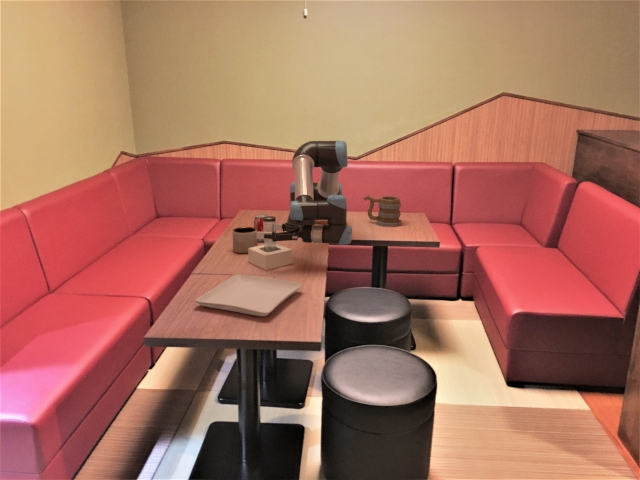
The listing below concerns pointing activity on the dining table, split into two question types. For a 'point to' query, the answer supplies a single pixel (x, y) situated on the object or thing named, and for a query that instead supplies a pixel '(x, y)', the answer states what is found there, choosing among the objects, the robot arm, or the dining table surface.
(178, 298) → the dining table surface
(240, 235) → the planter
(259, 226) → the soda can
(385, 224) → the tankard
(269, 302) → the square plate
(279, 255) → the socket block
